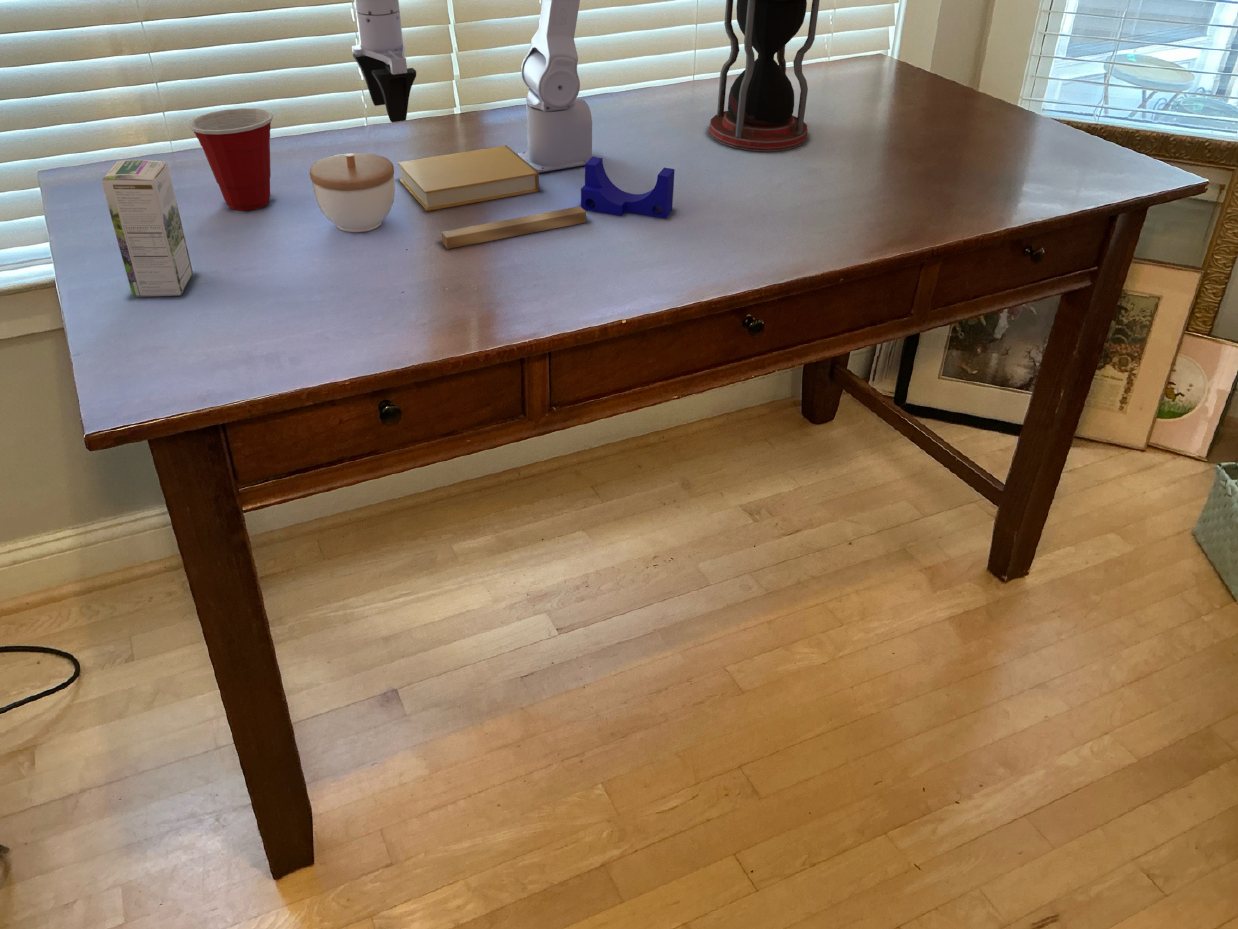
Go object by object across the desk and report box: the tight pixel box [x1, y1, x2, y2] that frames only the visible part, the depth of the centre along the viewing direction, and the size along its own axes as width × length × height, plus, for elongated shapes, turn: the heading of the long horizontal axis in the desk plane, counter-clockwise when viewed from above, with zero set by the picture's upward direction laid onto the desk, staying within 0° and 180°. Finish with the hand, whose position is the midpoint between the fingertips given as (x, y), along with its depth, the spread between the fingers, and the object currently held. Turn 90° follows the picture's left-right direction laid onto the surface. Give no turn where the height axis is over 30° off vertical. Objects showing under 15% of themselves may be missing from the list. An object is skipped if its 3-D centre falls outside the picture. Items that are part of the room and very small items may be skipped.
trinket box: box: [309, 152, 396, 233], centre depth 135 cm, size 11×11×9 cm
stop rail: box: [441, 205, 587, 250], centre depth 137 cm, size 20×2×2 cm, turn 118°
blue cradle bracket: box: [580, 156, 675, 219], centre depth 142 cm, size 12×4×6 cm, turn 71°
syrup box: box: [100, 159, 194, 297], centre depth 118 cm, size 6×6×14 cm
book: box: [397, 145, 540, 212], centre depth 149 cm, size 17×12×3 cm
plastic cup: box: [187, 107, 274, 212], centre depth 139 cm, size 11×11×12 cm
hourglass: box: [709, 0, 820, 152], centre depth 162 cm, size 16×16×25 cm
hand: (389, 112), depth 145 cm, fingers open, 7 cm apart
